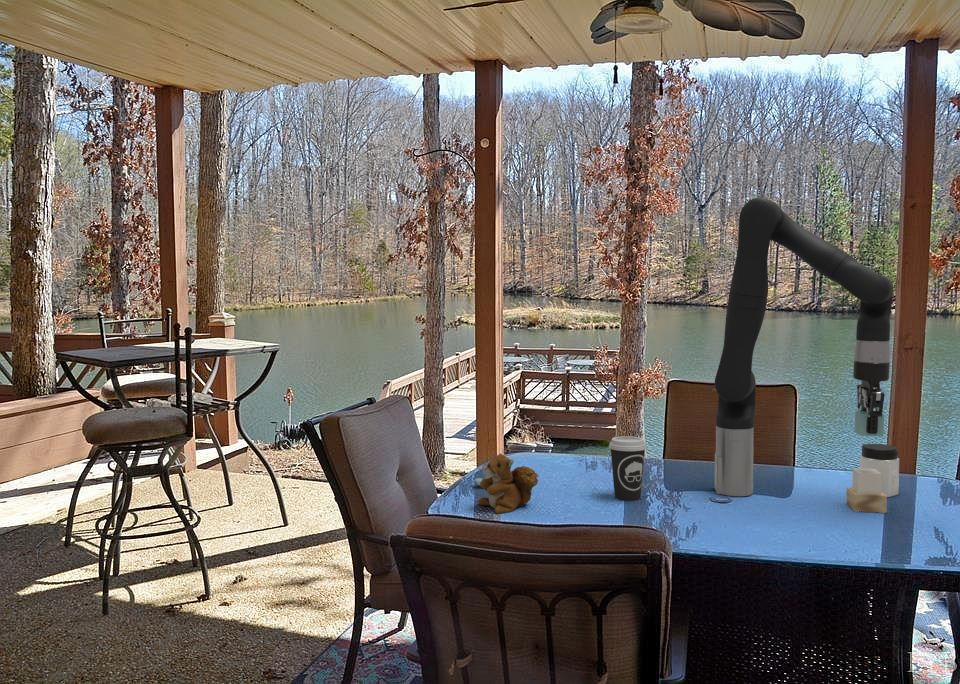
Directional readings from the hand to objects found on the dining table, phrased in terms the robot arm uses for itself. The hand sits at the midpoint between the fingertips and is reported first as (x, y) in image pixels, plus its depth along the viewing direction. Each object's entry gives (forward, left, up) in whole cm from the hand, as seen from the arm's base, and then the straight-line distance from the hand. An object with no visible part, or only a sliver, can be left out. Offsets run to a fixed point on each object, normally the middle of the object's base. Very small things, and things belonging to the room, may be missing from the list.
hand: (868, 430), depth 182 cm
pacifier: (-93, +6, -19) cm, 95 cm away
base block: (0, +1, -19) cm, 19 cm away
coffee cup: (-56, +2, -19) cm, 59 cm away
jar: (+7, +16, -19) cm, 26 cm away
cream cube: (0, +1, -15) cm, 15 cm away
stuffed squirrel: (-85, -11, -19) cm, 87 cm away
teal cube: (0, 0, -1) cm, 1 cm away
